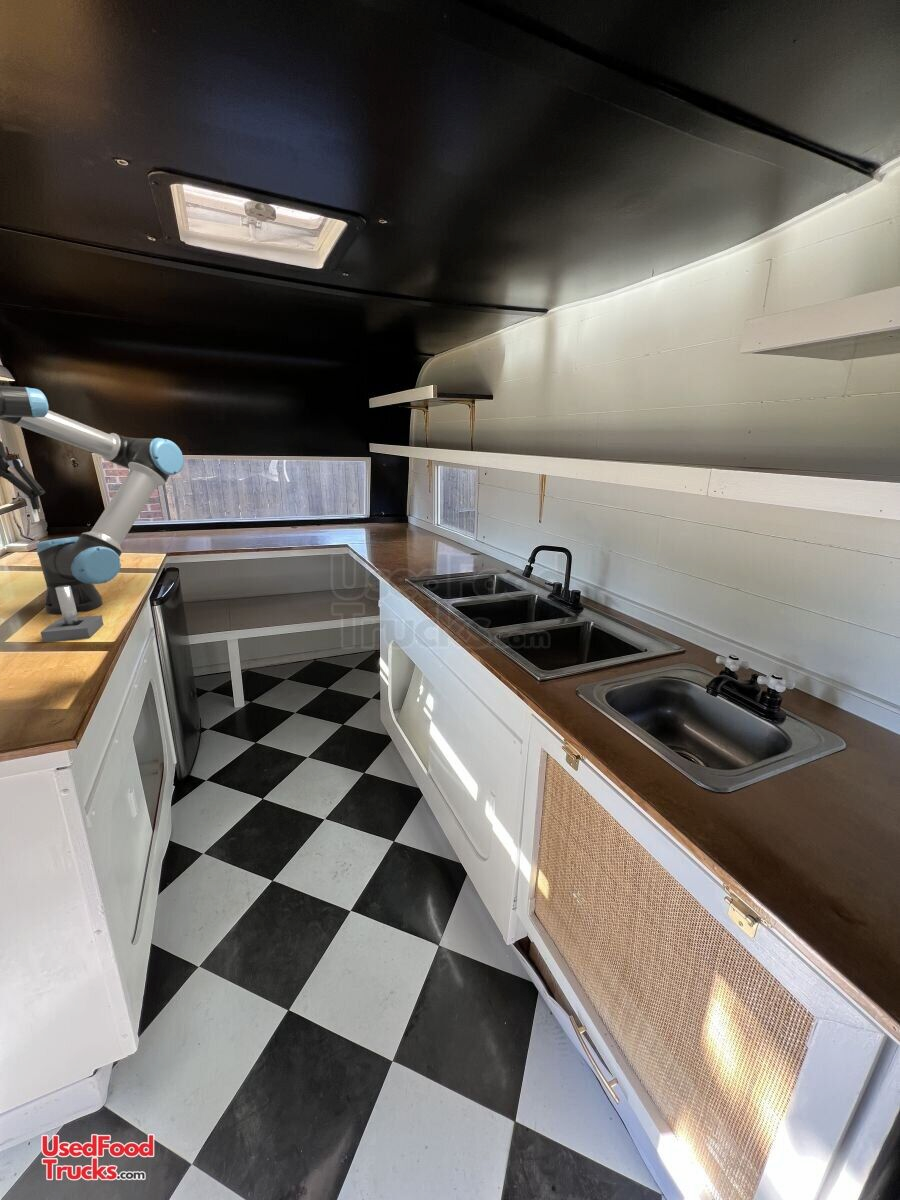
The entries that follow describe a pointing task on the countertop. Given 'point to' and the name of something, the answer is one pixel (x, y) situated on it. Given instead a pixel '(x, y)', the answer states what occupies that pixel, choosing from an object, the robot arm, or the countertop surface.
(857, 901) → the countertop surface
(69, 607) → the steel peg
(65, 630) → the socket block
